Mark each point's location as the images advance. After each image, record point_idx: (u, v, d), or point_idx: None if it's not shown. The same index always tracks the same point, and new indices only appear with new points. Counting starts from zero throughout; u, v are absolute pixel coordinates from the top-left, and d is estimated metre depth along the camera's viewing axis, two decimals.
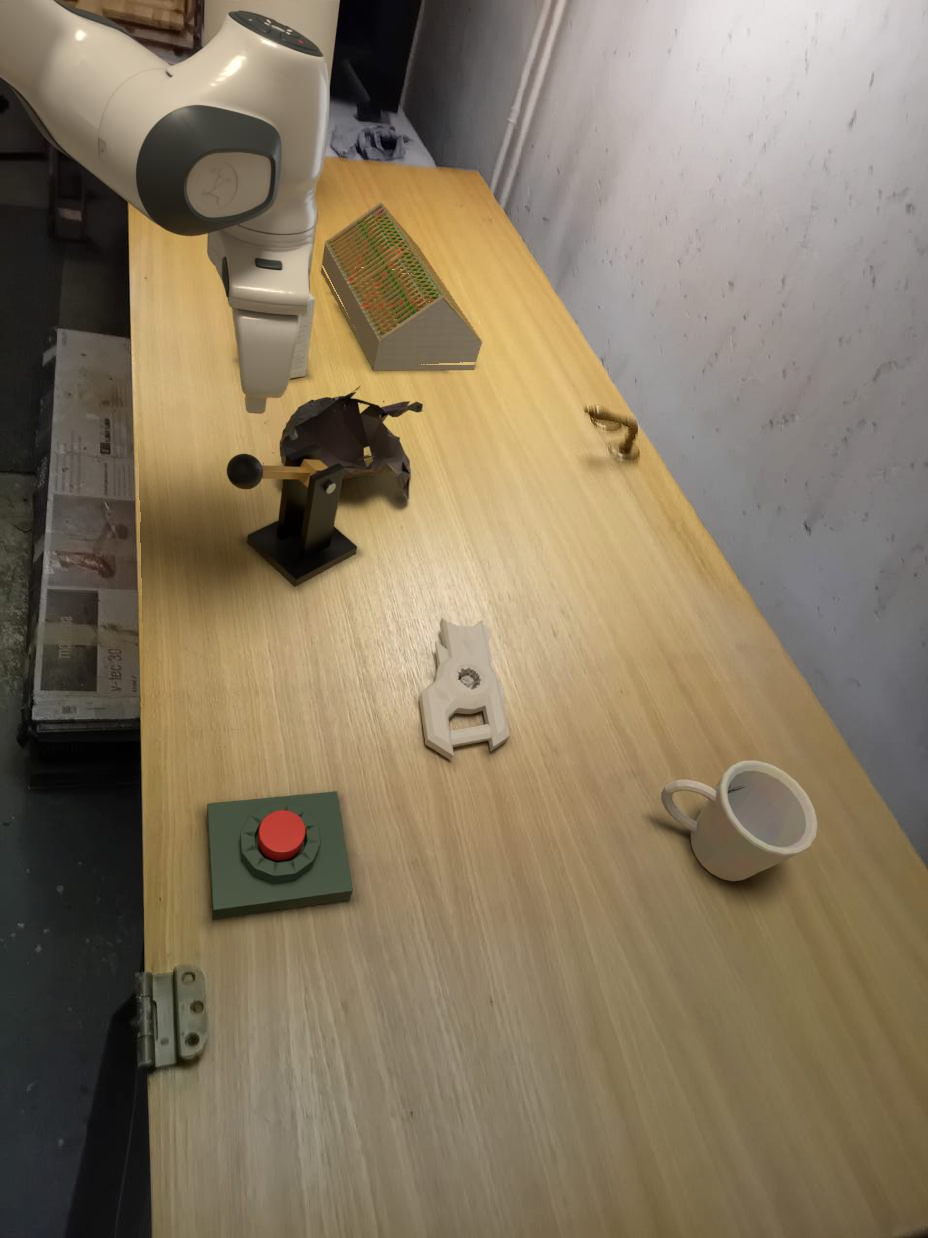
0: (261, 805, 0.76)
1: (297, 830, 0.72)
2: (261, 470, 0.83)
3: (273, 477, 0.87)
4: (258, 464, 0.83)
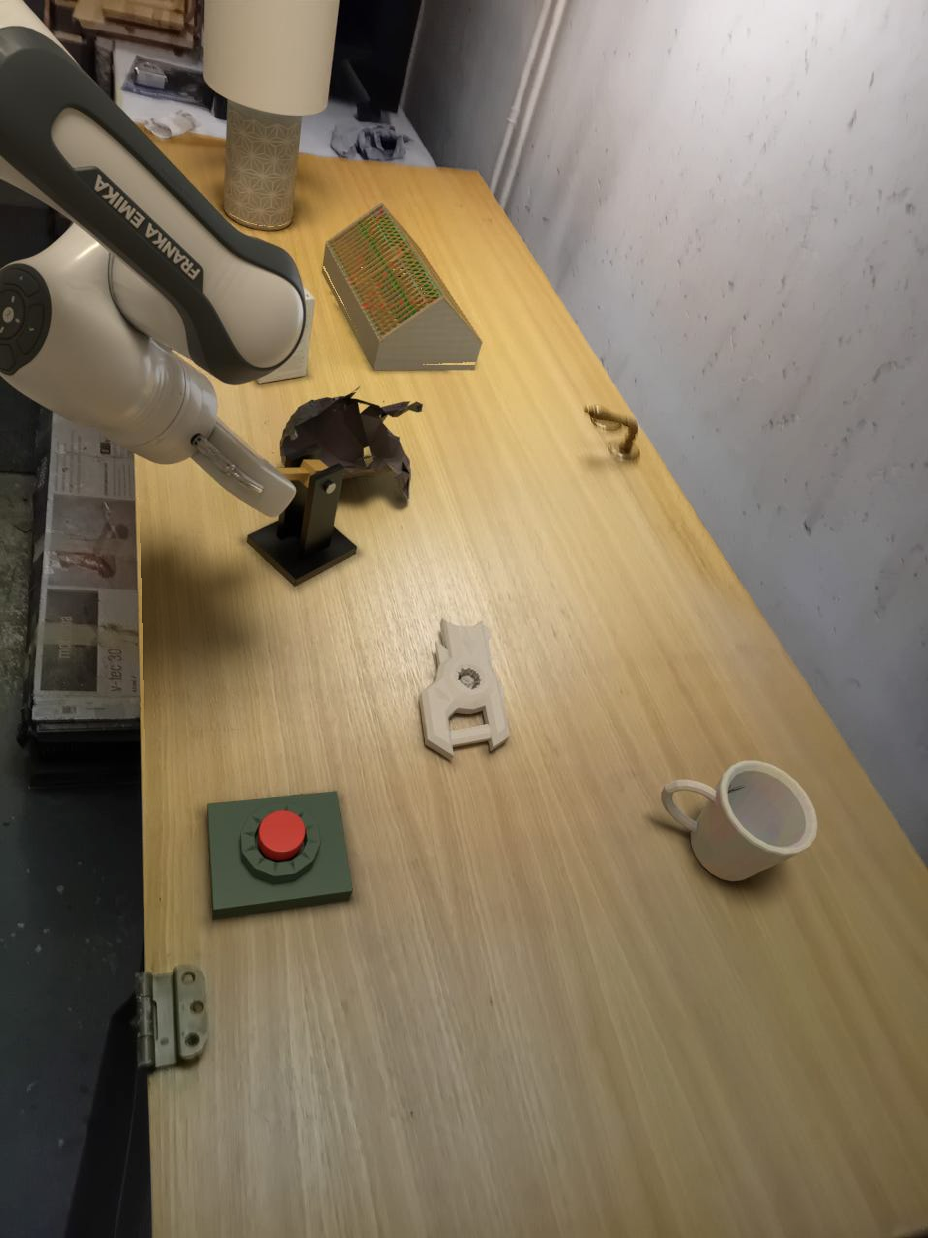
0: (261, 805, 0.76)
1: (297, 830, 0.72)
2: None
3: None
4: None
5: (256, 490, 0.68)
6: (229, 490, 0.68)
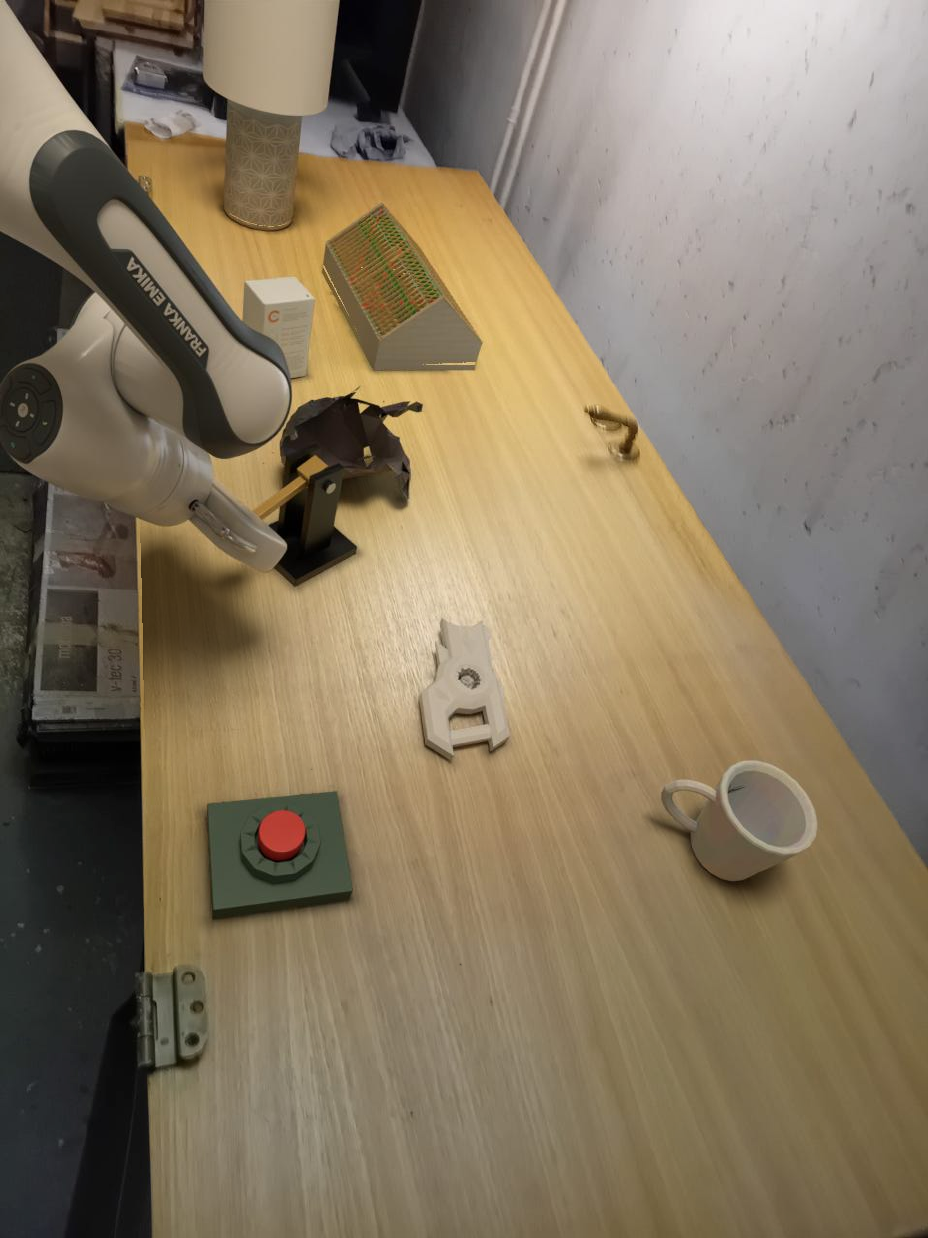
0: (261, 805, 0.76)
1: (297, 830, 0.72)
2: None
3: (269, 514, 0.91)
4: None
5: (249, 551, 0.74)
6: (225, 551, 0.74)
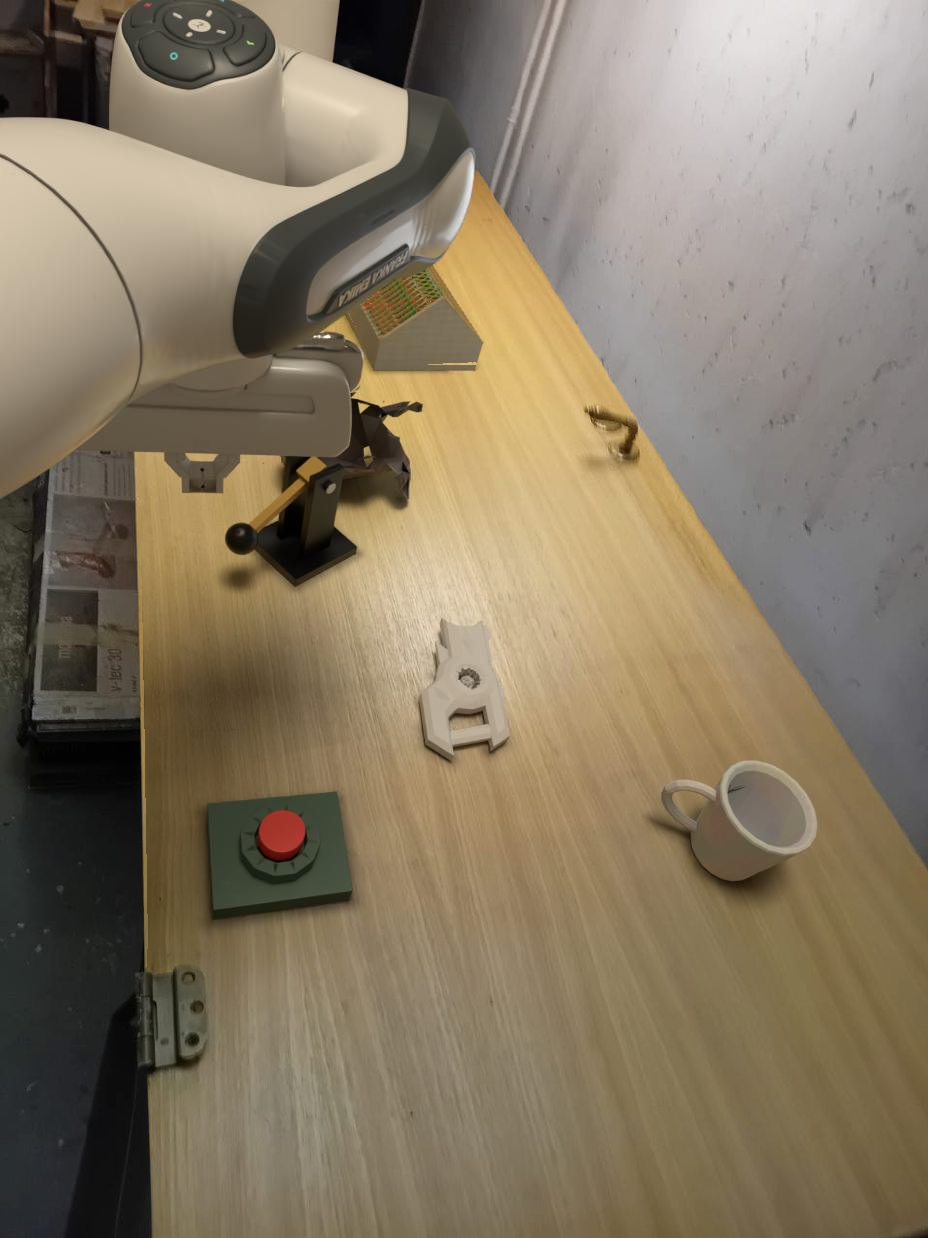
0: (261, 805, 0.76)
1: (297, 830, 0.72)
2: (250, 537, 0.90)
3: (271, 519, 0.92)
4: (245, 536, 0.89)
5: (361, 373, 0.56)
6: (341, 377, 0.54)
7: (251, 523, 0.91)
